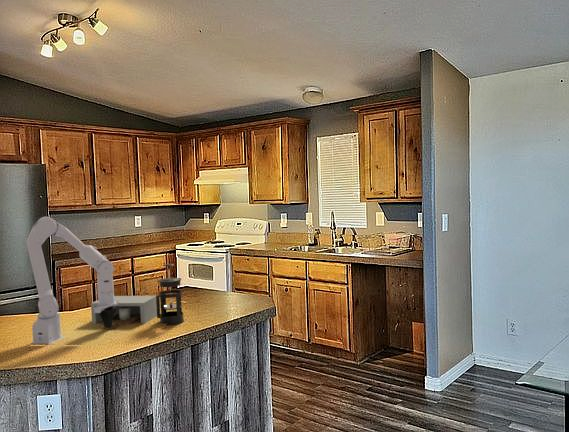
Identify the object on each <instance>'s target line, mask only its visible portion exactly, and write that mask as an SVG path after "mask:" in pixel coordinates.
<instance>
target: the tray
mask: <svg viewBox="0 0 569 432" xmlns="http://www.w3.org/2000/svg"><path fill="white" fill-rule="evenodd" d="M138 320H141V314H131V319H130V320H120V317H119V314H117V315H115V316H113V320H112V326H111V327H110V328H105V327H104V326H103V329H105V330H114V329H116V328H117V327H119V326H121V325H131V324H133V323H135V322H137V321H138Z"/></svg>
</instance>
